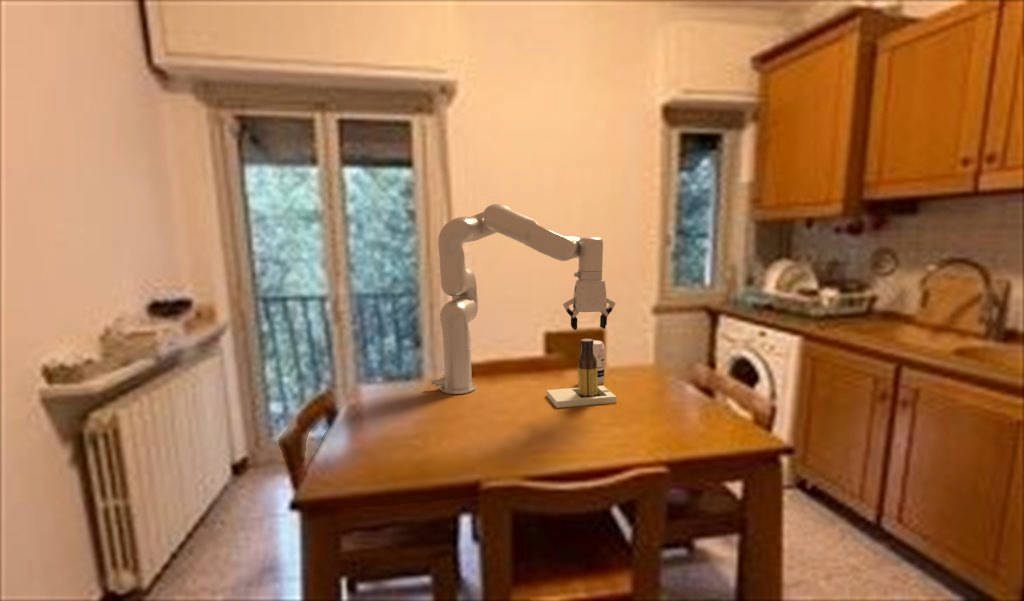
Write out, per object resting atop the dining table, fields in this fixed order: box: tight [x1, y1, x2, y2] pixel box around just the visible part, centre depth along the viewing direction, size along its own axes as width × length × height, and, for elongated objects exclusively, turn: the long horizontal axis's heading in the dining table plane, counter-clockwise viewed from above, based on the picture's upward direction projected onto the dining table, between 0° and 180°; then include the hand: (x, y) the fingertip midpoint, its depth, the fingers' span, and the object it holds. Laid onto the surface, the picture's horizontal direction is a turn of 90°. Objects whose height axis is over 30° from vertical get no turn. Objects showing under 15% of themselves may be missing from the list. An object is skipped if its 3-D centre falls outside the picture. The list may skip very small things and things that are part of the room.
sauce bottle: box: [577, 338, 599, 398], centre depth 185 cm, size 6×6×20 cm
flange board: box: [546, 385, 617, 409], centre depth 186 cm, size 20×12×2 cm, turn 102°
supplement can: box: [580, 339, 606, 386], centre depth 202 cm, size 8×8×15 cm
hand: (588, 328), depth 183 cm, fingers open, 9 cm apart
